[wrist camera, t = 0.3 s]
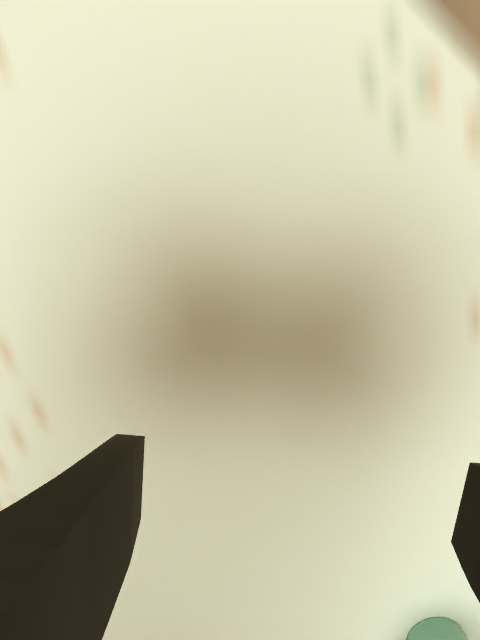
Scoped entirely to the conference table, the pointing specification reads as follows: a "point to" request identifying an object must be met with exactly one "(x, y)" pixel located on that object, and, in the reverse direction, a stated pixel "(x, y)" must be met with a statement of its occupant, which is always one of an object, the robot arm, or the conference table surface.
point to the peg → (436, 630)
